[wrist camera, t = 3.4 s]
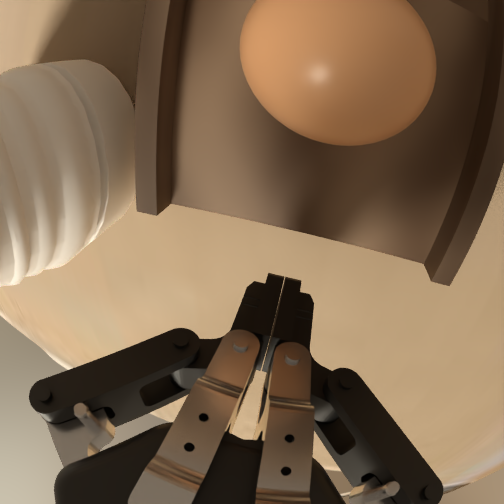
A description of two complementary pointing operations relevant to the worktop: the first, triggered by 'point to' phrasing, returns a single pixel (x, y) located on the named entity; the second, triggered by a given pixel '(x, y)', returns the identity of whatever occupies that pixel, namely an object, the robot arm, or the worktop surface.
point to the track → (317, 153)
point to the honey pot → (61, 162)
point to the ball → (339, 66)
